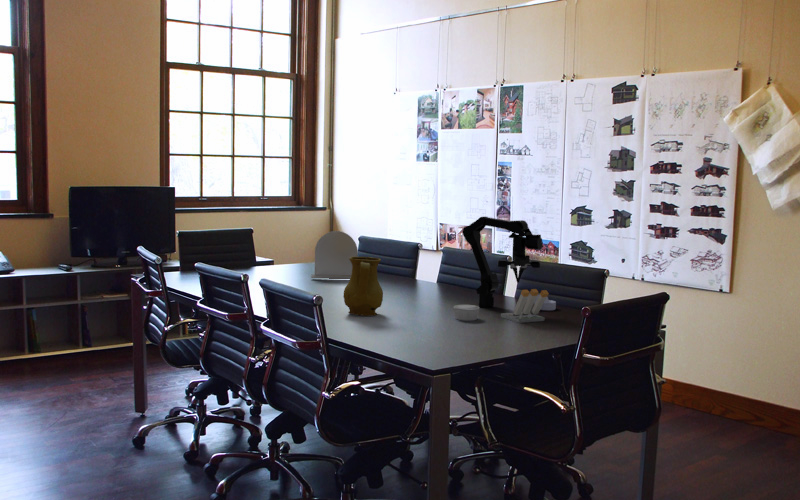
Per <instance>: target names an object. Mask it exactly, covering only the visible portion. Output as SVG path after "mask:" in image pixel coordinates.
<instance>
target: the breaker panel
mask: <svg viewBox="0 0 800 500" xmlns="http://www.w3.org/2000/svg"><path fill="white" fill-rule="evenodd" d="M522 313H523V312H521V315H519V316H513V314H515V313H514V311H513V312H504V313H502V312H501V313H500V318H503V319H506V320H509V321H512V322H515V323H517V324H523V323H532V322H533V323H535V322H545V319H546V317H544V316H541V315H539V314H537V315H531V313H532V312H530V314H528V315H522Z"/></svg>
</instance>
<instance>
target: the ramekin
mask: <svg viewBox="0 0 800 500" xmlns="http://www.w3.org/2000/svg"><path fill="white" fill-rule="evenodd" d="M480 308H481V307H479V306H478V305H474V304H473V305H472V304H457V305H454V306H453V311H454V318H455V319H456V320H458V321H464V322H465V321H466V322H470V321H471V322H472V321H476V320H477V319H478V316H479V313H480Z"/></svg>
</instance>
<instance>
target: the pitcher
mask: <svg viewBox="0 0 800 500" xmlns="http://www.w3.org/2000/svg"><path fill="white" fill-rule="evenodd" d="M349 260H350V261H351V263H352V274H351V278H350V281H348V282H347V285H345V287H344V289H343V301H344V305H345V306H346V307H347V308H348V309H349V311H348V312H347V313H348V314H351V315H354V316H355V315H356V316H363V317H369V316H370V317H372V316H378V313H377V312H376V310H377V309H378V308H381V307H382V305H383V301H384V299H383V298H384V292H383V291H384V290H383V288H382V286H381V284H380V282H379V279H378V266H379V264H380V263H381V262H382V259H381V258H379V257H371V256H358V257H350V258H349Z"/></svg>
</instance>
